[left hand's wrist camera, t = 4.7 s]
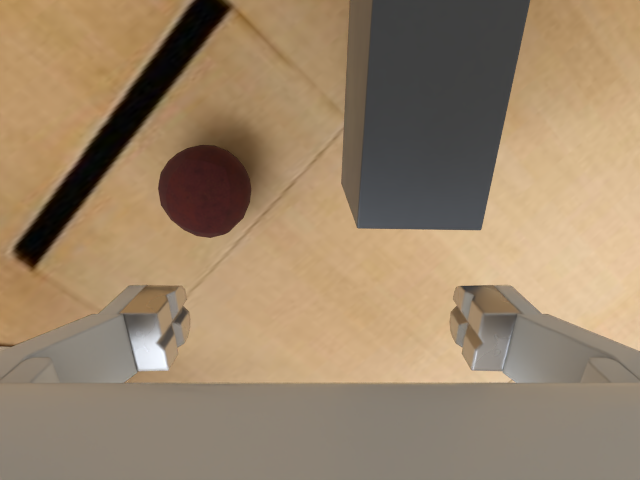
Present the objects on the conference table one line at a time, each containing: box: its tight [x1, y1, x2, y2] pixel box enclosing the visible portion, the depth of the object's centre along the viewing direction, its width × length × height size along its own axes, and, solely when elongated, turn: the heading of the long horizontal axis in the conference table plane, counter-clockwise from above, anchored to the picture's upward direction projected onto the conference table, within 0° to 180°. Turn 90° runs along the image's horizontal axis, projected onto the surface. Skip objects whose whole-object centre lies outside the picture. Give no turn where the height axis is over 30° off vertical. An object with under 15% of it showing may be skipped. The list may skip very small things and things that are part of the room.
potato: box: [158, 145, 251, 238], centre depth 28 cm, size 7×8×7 cm
